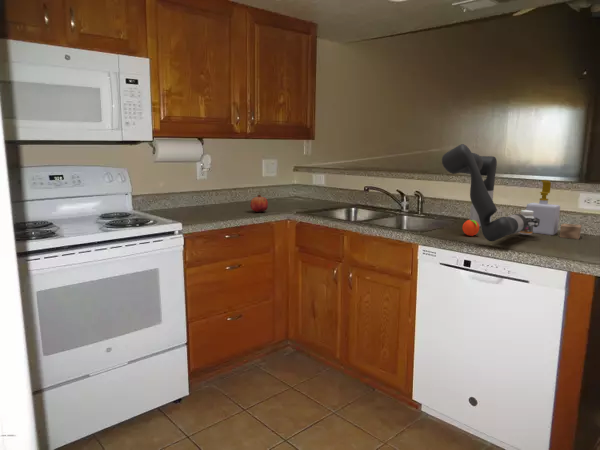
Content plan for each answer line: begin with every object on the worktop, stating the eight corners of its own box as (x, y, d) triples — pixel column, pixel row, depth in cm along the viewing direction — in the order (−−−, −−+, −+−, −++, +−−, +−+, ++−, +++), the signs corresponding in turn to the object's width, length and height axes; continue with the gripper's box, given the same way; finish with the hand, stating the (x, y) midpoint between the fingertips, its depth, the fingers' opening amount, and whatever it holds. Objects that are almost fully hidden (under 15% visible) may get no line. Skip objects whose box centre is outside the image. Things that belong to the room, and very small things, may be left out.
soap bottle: (523, 231, 202) (528, 179, 197) (528, 229, 206) (533, 179, 202) (553, 235, 193) (559, 181, 189) (557, 233, 198) (563, 180, 194)
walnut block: (559, 237, 190) (560, 225, 189) (561, 234, 195) (562, 223, 194) (578, 239, 186) (580, 227, 185) (580, 236, 191) (581, 225, 190)
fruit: (272, 212, 256) (271, 194, 254) (259, 214, 249) (258, 196, 247) (259, 210, 264) (259, 193, 262) (246, 212, 256) (246, 194, 255)
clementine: (483, 237, 189) (485, 220, 188) (469, 238, 188) (470, 221, 187) (472, 233, 197) (474, 217, 196) (458, 234, 196) (459, 218, 194)
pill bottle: (515, 233, 192) (517, 210, 190) (520, 231, 196) (522, 209, 194) (529, 235, 188) (532, 212, 186) (534, 233, 192) (536, 210, 190)
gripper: (533, 217, 175) (547, 212, 187) (496, 212, 185) (512, 208, 197) (531, 235, 177) (545, 229, 188) (495, 230, 187) (510, 225, 198)
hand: (528, 219), depth 193 cm, fingers closed on pill bottle, 5 cm apart
